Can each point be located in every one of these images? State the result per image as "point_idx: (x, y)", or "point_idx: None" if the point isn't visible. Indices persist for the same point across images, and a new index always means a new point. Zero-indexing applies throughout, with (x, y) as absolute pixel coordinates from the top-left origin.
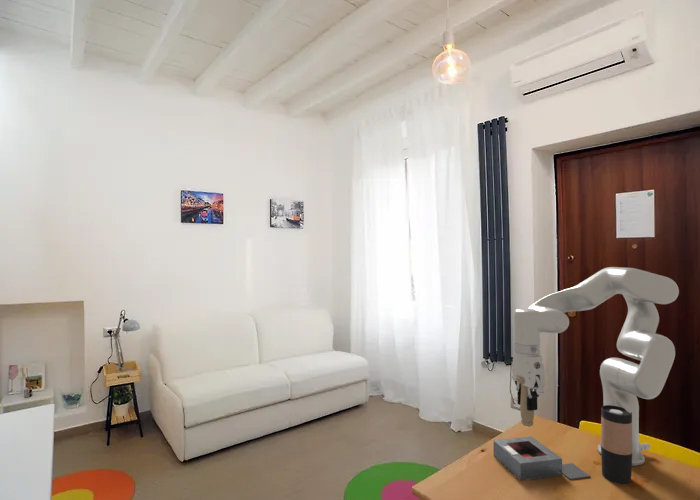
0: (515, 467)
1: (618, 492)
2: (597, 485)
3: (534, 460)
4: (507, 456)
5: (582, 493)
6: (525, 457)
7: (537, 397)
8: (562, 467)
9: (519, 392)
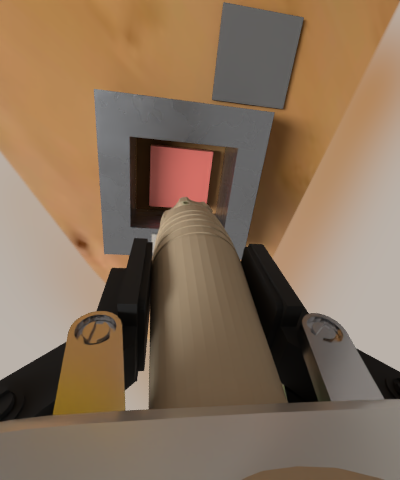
0: None
1: (388, 6)
2: (336, 42)
3: (245, 213)
4: None
5: (332, 129)
6: (167, 172)
7: (327, 325)
8: (232, 75)
9: (136, 370)
